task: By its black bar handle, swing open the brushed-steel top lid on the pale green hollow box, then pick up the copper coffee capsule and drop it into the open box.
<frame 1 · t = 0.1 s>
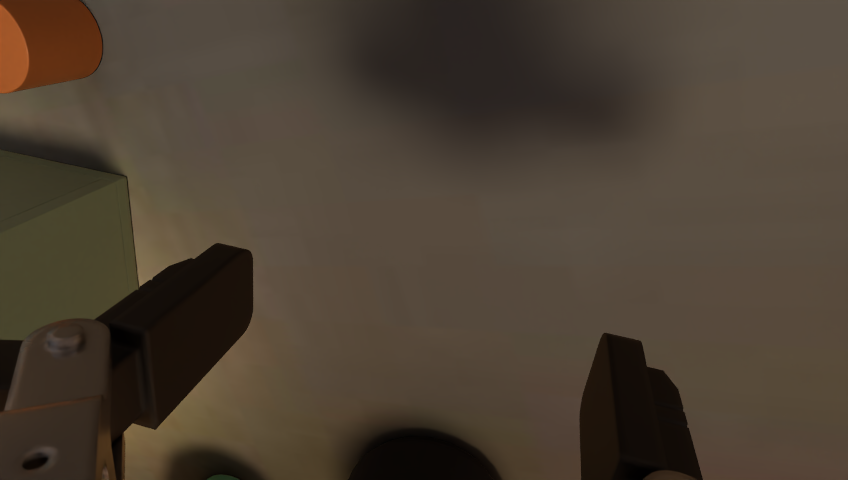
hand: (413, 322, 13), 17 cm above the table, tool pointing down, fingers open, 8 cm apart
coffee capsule: (65, 35, 31), on the table
pale green hollow box: (55, 275, 39), on the table
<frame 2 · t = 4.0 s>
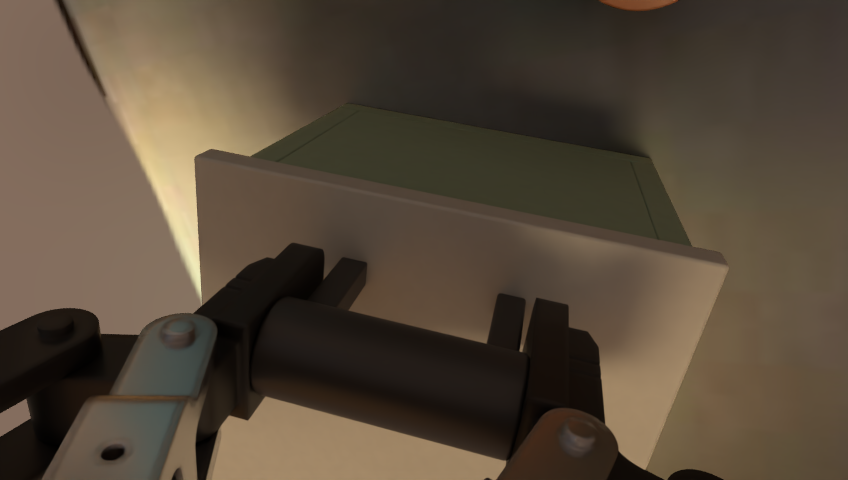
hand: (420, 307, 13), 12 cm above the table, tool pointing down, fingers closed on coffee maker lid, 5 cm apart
pale green hollow box: (461, 300, 27), on the table
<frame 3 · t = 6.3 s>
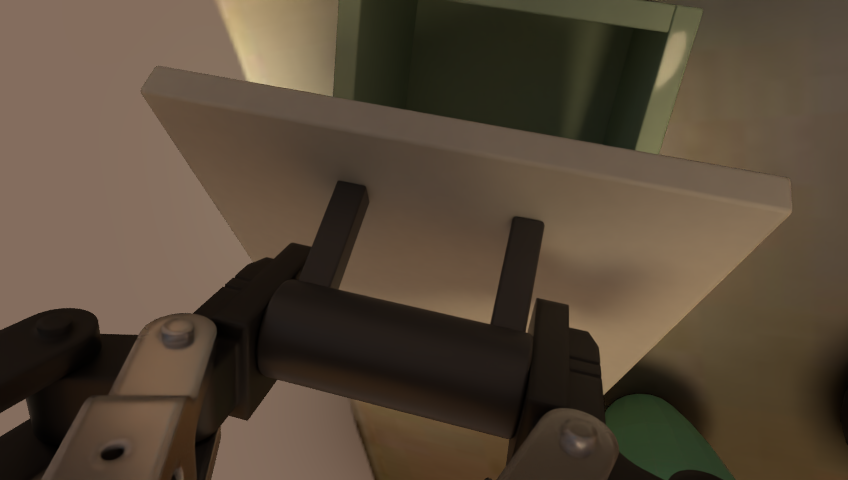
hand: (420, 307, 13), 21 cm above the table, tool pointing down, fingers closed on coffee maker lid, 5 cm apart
pale green hollow box: (499, 145, 33), on the table
mug: (643, 449, 39), on the table
coffee maker lid: (426, 368, 18), point 18 cm above the table, hinge at 37.7°, touching gripper
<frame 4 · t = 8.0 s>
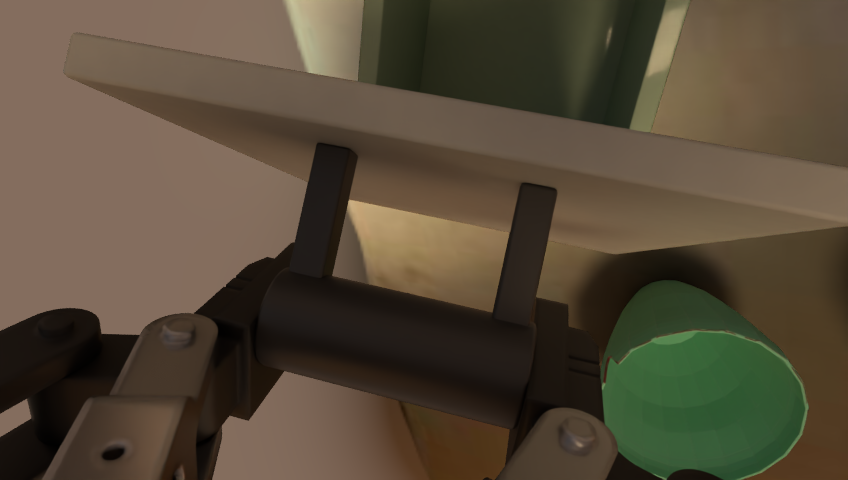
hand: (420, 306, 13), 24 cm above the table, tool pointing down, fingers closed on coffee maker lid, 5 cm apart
pale green hollow box: (527, 14, 32), on the table
mug: (668, 341, 39), on the table
coffee maker lid: (448, 263, 18), point 20 cm above the table, hinge at 63.5°, touching gripper
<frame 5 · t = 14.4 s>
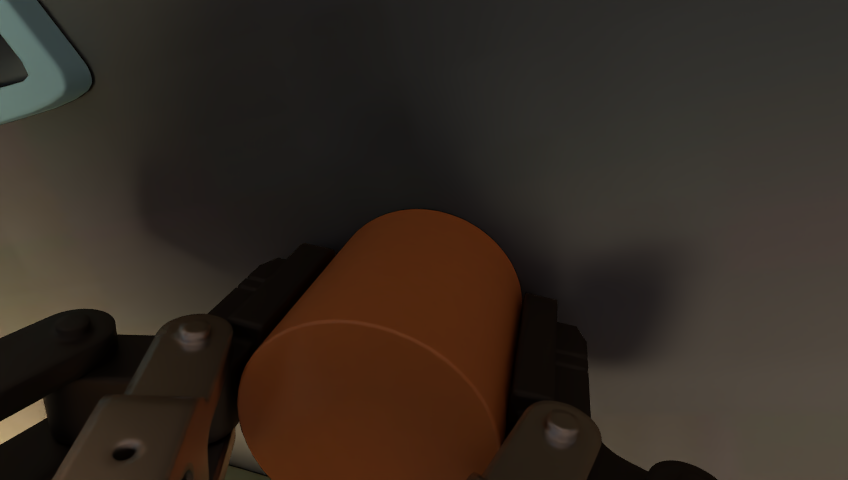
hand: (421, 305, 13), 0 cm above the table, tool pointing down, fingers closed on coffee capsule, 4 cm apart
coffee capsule: (425, 297, 14), on the table, touching gripper
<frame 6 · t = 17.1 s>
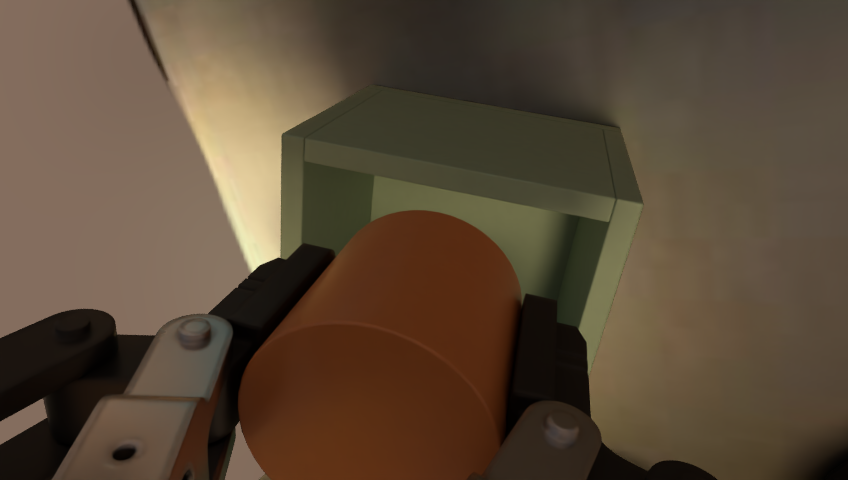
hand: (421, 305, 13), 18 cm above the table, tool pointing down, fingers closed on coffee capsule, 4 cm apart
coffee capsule: (426, 298, 14), point 17 cm above the table, touching gripper
pale green hollow box: (465, 251, 32), on the table
when the fingers open (10 cm above the table, at t = 19.9 s): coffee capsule drops 9 cm, resting on pale green hollow box.
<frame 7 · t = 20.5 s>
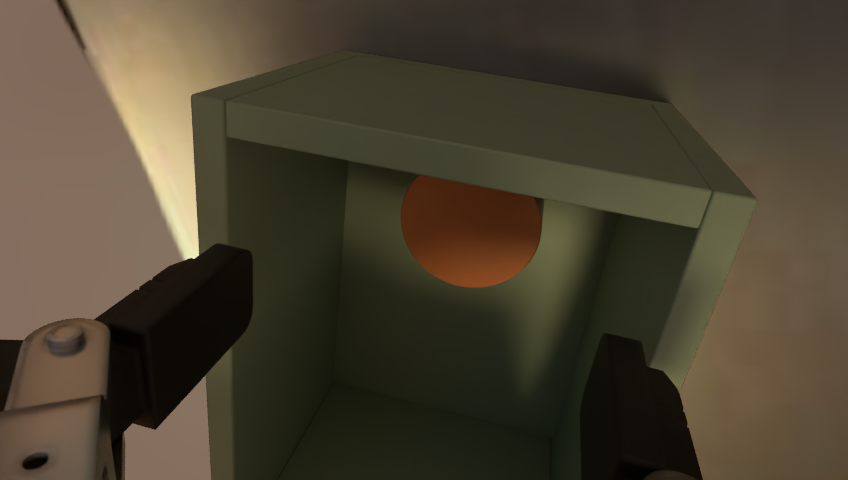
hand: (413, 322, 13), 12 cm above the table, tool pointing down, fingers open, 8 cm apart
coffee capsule: (487, 180, 23), point 1 cm above the table, touching pale green hollow box
pale green hollow box: (466, 267, 25), on the table
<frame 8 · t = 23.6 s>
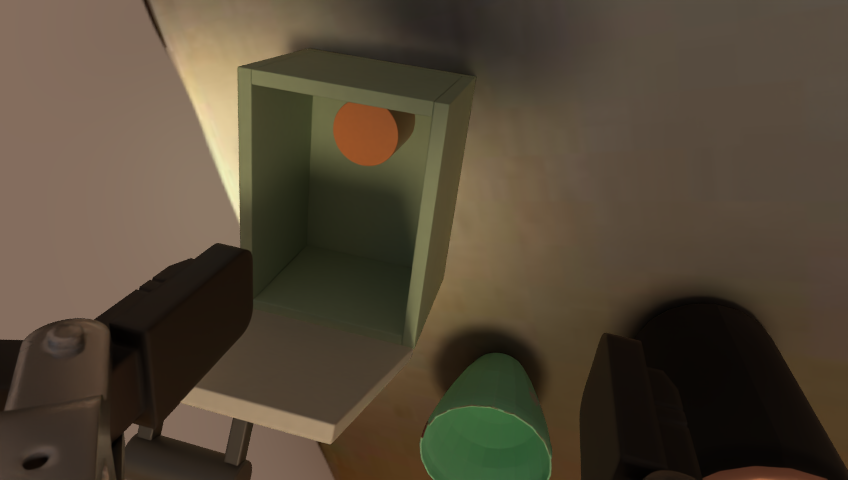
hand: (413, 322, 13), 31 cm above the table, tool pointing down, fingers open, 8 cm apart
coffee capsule: (385, 118, 42), point 1 cm above the table, touching pale green hollow box
pale green hollow box: (379, 170, 45), on the table
coffee jar: (696, 352, 46), on the table
mug: (503, 395, 52), on the table
coffee maker lid: (261, 394, 31), point 20 cm above the table, hinge at 64.0°
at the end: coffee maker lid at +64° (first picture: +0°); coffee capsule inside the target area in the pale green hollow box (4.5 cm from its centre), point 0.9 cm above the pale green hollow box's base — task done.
